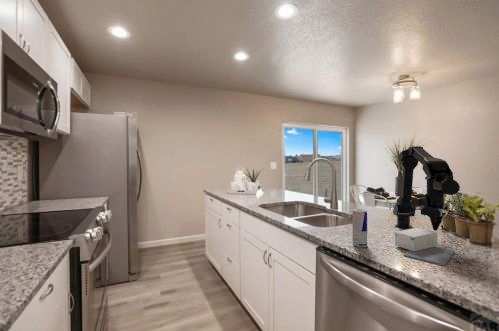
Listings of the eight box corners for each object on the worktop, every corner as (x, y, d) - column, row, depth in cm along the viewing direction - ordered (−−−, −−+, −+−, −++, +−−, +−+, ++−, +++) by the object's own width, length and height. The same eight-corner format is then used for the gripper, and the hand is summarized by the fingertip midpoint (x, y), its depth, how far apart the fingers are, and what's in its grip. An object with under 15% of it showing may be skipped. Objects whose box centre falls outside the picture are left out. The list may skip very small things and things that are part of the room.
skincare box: (418, 240, 106) (393, 245, 100) (417, 226, 105) (393, 231, 100) (439, 246, 98) (414, 252, 92) (438, 231, 98) (413, 236, 92)
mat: (417, 244, 102) (417, 242, 102) (454, 252, 93) (454, 250, 93) (403, 256, 90) (403, 254, 90) (444, 266, 81) (444, 264, 81)
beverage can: (366, 248, 98) (366, 211, 97) (351, 246, 101) (351, 210, 100) (368, 244, 102) (367, 209, 102) (353, 242, 105) (353, 208, 105)
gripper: (417, 188, 110) (417, 222, 110) (405, 192, 97) (405, 230, 97) (449, 190, 101) (449, 227, 102) (440, 194, 89) (440, 237, 89)
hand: (435, 230), depth 98 cm, fingers closed
